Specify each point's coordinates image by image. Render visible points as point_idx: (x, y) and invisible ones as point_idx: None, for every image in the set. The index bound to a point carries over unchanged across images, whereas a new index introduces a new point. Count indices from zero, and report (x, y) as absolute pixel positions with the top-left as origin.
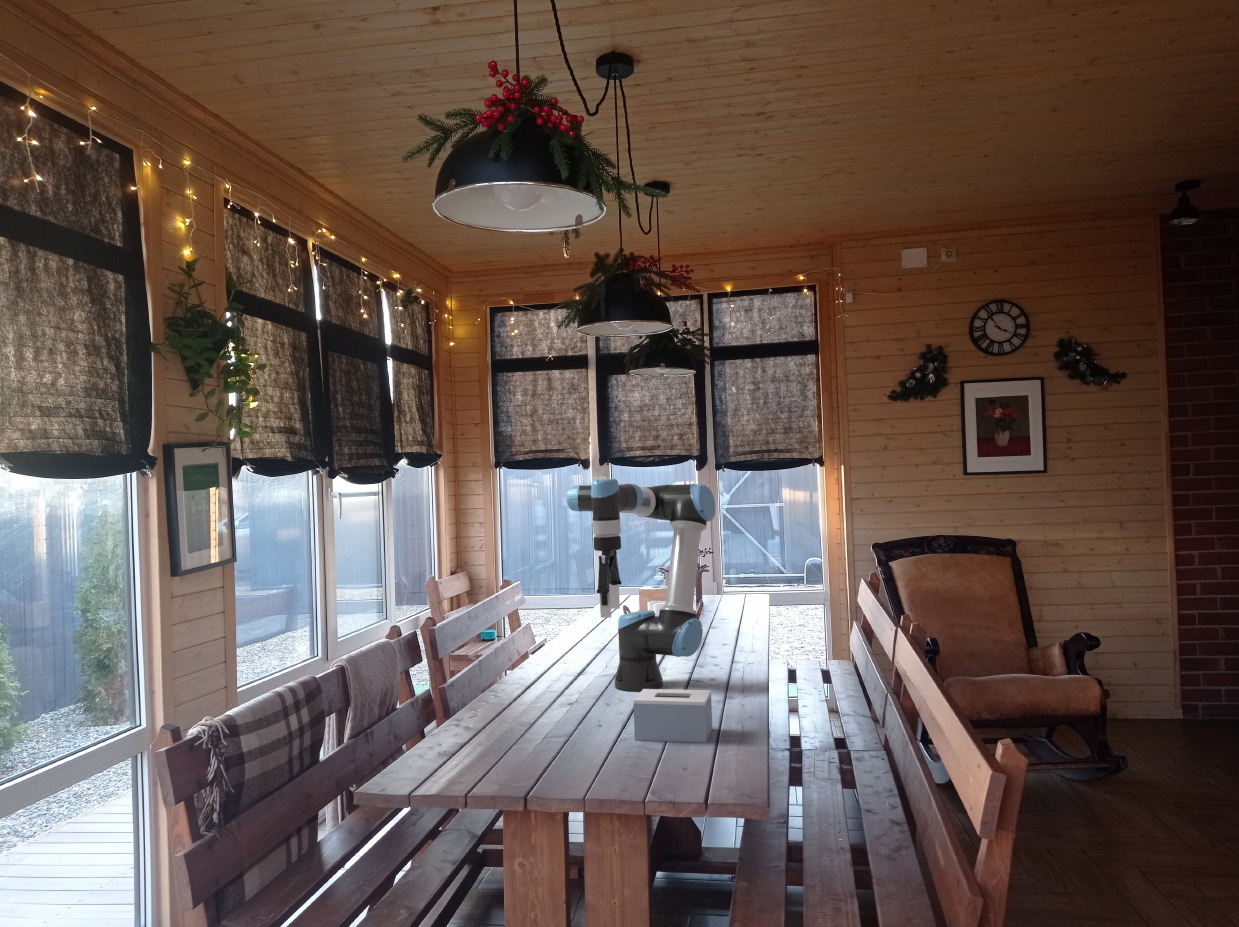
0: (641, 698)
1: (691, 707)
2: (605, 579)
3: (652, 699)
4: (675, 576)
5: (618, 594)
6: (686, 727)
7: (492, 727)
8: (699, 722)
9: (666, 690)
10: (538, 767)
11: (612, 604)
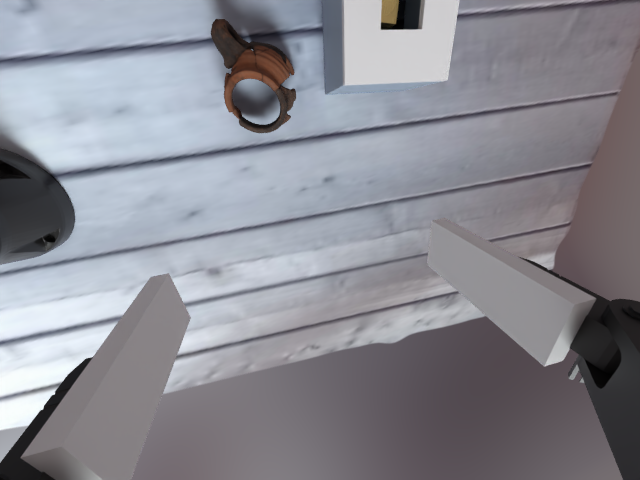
0: (434, 62)
1: None
2: None
3: (444, 27)
4: None
5: (124, 347)
6: None
7: (355, 307)
8: None
9: (355, 3)
10: (506, 190)
11: (176, 324)
